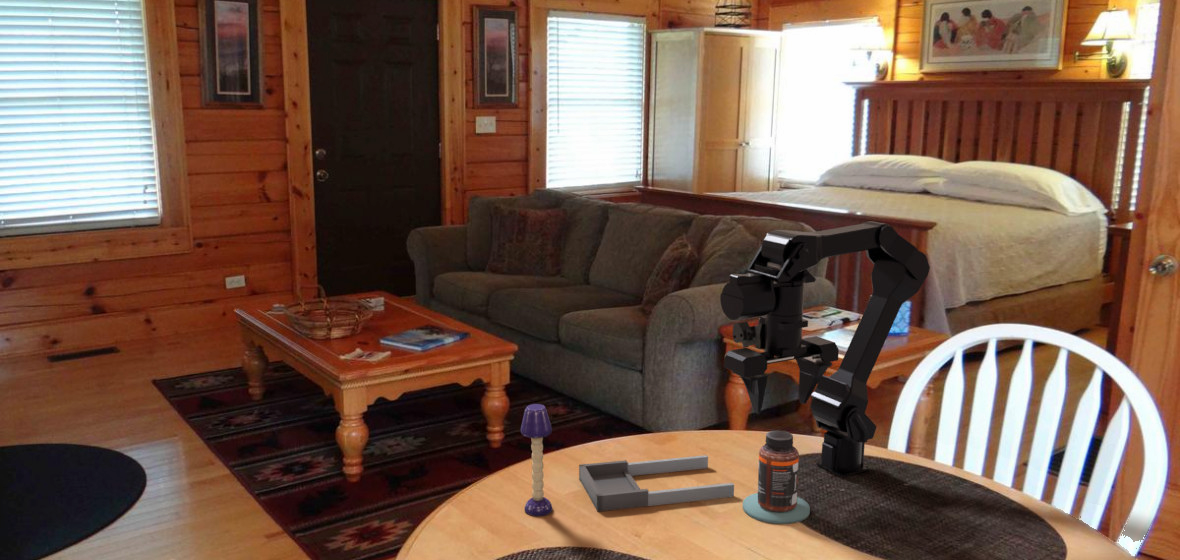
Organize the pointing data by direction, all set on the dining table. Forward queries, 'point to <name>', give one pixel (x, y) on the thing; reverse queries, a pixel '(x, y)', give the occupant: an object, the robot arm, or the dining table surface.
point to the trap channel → (620, 491)
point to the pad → (764, 515)
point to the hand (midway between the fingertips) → (780, 407)
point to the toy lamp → (537, 456)
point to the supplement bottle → (778, 472)
